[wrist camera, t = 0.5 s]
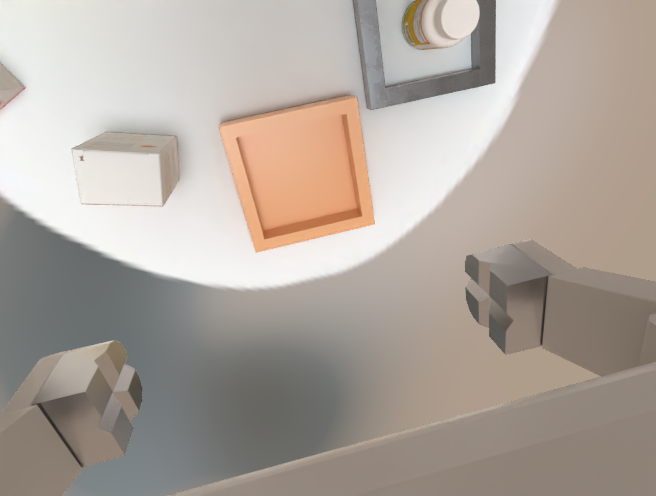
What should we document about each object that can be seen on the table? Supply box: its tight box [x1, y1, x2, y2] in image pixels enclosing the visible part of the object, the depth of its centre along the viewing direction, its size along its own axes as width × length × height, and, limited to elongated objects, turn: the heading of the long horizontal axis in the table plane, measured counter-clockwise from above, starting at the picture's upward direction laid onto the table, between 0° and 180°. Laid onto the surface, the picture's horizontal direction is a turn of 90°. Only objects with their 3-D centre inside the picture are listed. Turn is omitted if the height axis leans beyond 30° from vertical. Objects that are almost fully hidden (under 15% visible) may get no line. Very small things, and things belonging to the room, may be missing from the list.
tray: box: [219, 95, 375, 252], centre depth 50 cm, size 16×16×4 cm
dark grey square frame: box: [353, 0, 496, 110], centre depth 46 cm, size 16×16×2 cm
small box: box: [72, 132, 179, 206], centre depth 44 cm, size 8×6×10 cm
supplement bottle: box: [402, 0, 480, 50], centre depth 43 cm, size 5×5×10 cm
